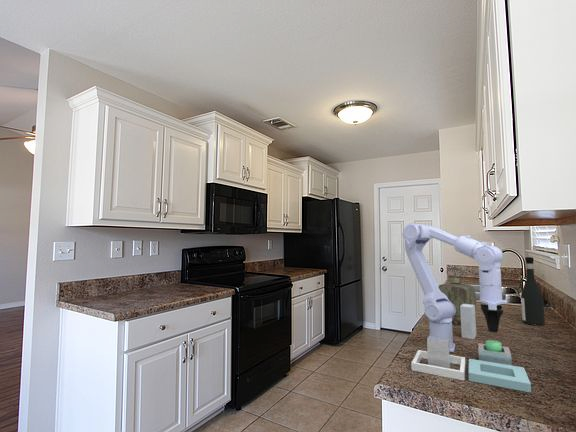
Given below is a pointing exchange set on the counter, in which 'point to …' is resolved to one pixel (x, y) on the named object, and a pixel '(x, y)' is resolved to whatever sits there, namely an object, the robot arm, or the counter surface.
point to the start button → (493, 345)
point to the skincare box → (468, 321)
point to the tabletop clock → (458, 293)
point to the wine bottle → (532, 298)
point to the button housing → (495, 355)
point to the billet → (438, 351)
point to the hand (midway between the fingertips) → (492, 330)
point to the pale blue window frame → (499, 375)
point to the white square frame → (439, 370)
